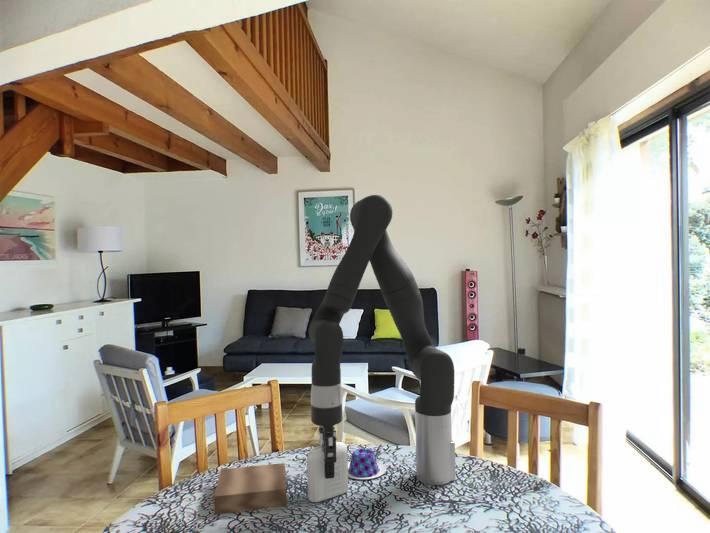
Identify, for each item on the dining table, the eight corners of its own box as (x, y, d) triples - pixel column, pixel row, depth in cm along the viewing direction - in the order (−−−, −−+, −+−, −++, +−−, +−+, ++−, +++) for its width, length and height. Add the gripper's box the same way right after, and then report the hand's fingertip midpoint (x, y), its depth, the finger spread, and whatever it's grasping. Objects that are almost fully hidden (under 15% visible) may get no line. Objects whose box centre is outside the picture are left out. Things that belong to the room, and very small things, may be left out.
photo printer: (341, 485, 112) (340, 436, 112) (351, 492, 108) (350, 441, 109) (305, 497, 106) (304, 445, 106) (313, 505, 103) (312, 451, 103)
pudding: (345, 461, 127) (344, 442, 127) (387, 462, 125) (387, 444, 125) (338, 481, 115) (337, 460, 115) (384, 483, 114) (384, 462, 114)
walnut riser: (284, 478, 116) (284, 463, 116) (286, 506, 103) (286, 488, 103) (221, 485, 113) (220, 469, 113) (214, 514, 100) (214, 496, 100)
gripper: (346, 409, 101) (348, 483, 101) (337, 392, 115) (338, 457, 115) (313, 412, 100) (314, 486, 100) (308, 394, 114) (309, 459, 114)
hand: (327, 470), depth 107 cm, fingers open, 7 cm apart
